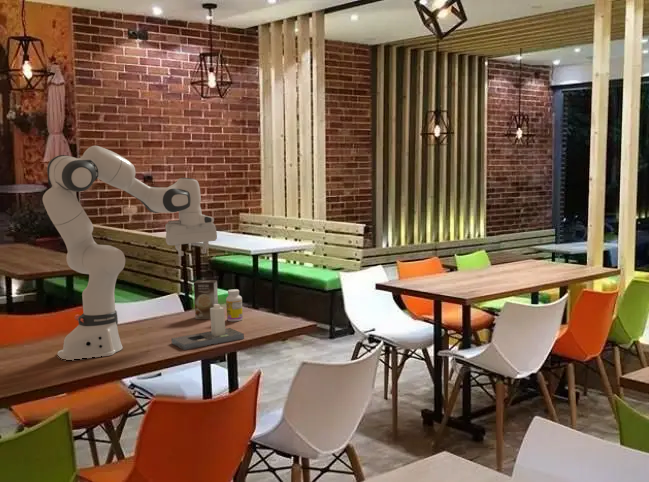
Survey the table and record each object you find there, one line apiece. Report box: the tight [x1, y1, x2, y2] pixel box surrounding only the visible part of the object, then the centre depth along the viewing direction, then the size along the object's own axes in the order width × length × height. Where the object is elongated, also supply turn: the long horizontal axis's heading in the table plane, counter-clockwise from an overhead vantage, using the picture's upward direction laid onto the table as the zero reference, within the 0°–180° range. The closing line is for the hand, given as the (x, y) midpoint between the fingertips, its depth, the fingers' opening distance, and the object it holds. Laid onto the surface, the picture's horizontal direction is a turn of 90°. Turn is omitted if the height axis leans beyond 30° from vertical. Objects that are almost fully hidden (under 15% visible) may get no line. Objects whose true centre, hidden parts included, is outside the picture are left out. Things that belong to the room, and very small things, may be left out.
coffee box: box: [193, 279, 219, 320], centre depth 305 cm, size 9×6×16 cm
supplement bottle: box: [225, 288, 244, 323], centre depth 298 cm, size 7×7×13 cm
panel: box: [171, 327, 245, 351], centre depth 265 cm, size 24×12×2 cm, turn 123°
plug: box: [210, 303, 226, 337], centre depth 267 cm, size 4×4×13 cm
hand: (192, 254), depth 277 cm, fingers open, 8 cm apart
